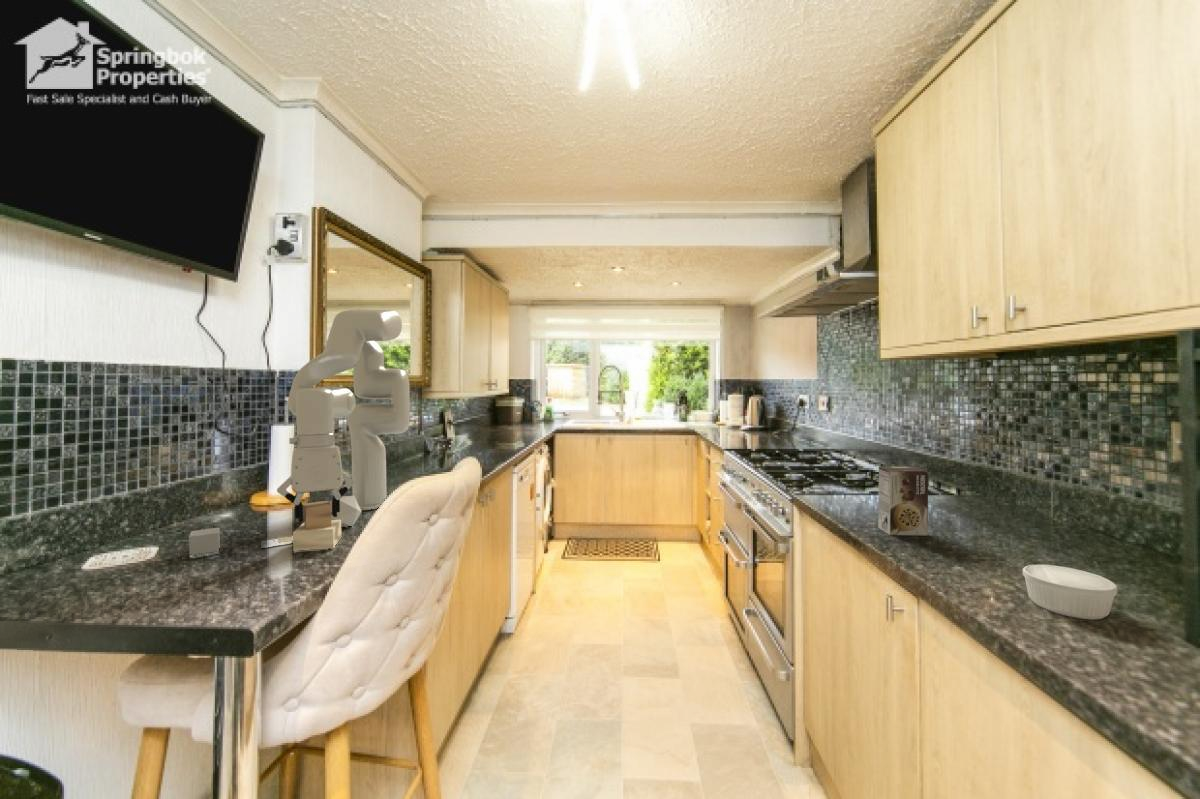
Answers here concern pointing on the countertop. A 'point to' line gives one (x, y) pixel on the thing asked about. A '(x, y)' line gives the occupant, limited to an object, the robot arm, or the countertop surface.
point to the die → (347, 511)
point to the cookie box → (903, 500)
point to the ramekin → (1069, 591)
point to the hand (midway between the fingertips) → (317, 517)
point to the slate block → (204, 541)
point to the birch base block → (317, 537)
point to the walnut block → (317, 515)
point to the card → (285, 539)
